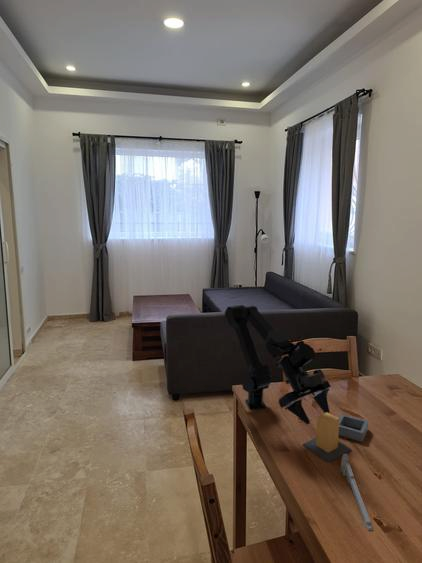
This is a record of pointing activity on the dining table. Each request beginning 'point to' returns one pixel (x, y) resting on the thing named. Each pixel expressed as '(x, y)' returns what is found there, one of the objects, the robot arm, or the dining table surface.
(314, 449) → the mat
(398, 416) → the dining table surface
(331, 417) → the block
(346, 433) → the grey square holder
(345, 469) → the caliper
